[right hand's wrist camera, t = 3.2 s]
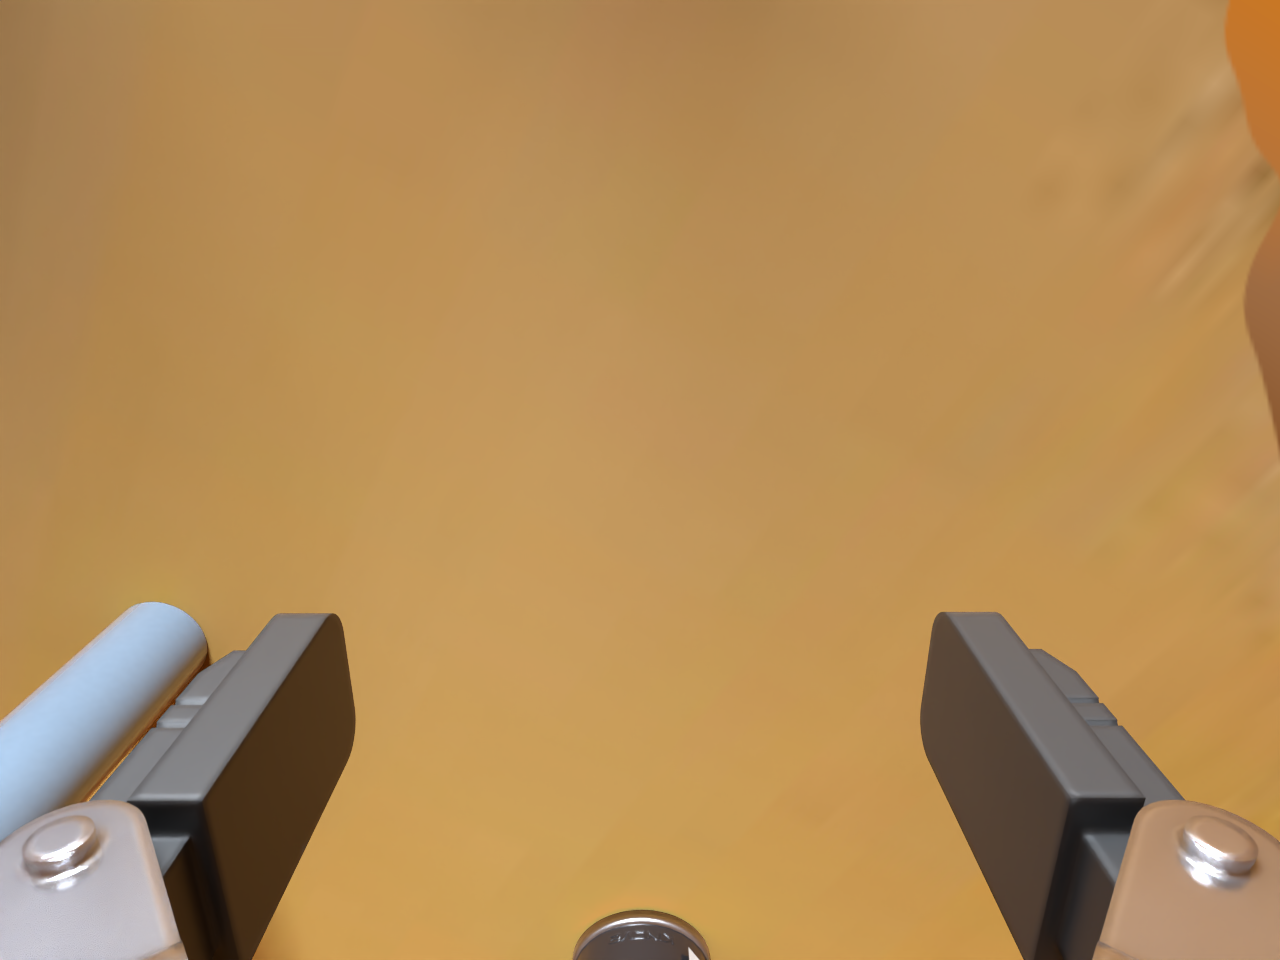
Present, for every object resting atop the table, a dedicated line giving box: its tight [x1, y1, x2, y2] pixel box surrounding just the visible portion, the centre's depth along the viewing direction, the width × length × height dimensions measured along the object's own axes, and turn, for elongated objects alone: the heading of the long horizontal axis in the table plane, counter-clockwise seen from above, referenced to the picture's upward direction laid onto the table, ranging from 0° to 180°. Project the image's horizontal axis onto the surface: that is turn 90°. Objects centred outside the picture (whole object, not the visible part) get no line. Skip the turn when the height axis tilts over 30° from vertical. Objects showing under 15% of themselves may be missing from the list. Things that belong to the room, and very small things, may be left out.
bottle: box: [0, 602, 207, 842], centre depth 39 cm, size 5×5×22 cm
